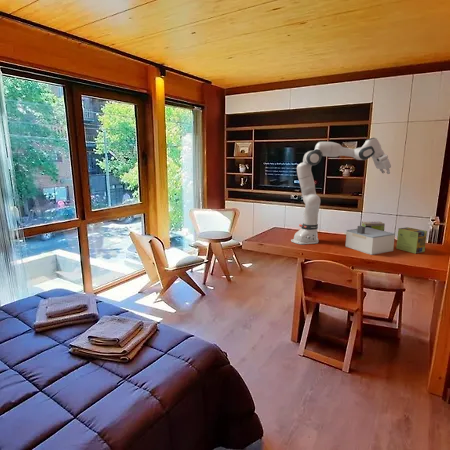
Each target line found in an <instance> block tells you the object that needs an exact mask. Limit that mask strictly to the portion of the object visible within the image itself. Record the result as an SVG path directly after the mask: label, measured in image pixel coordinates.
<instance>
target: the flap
mask: <svg viewBox="0 0 450 450" xmlns="http://www.w3.org/2000/svg"><path fill="white" fill-rule="evenodd" d="M347 231H348V232H352V233H356V234H359V235H363V236H367V237H371V238H377V237H384V236H390V235H395V236H396V233H394V232H389V231H385V230H384V231H381V230H377V229H373V228H369V227H366V228H365V227H364V226H362V225H358V226H357V228H352V229H346V232H347Z"/></svg>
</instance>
